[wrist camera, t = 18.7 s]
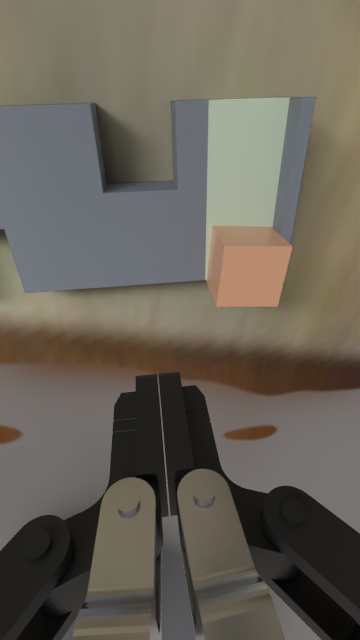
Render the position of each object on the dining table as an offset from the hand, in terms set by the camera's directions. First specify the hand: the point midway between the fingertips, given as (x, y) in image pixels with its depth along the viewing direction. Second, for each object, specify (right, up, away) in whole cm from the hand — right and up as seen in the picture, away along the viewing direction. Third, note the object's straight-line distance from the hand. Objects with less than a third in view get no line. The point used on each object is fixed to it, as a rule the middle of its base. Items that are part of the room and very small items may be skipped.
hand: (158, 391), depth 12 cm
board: (-8, +12, +13) cm, 19 cm away
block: (+5, +8, +14) cm, 17 cm away
